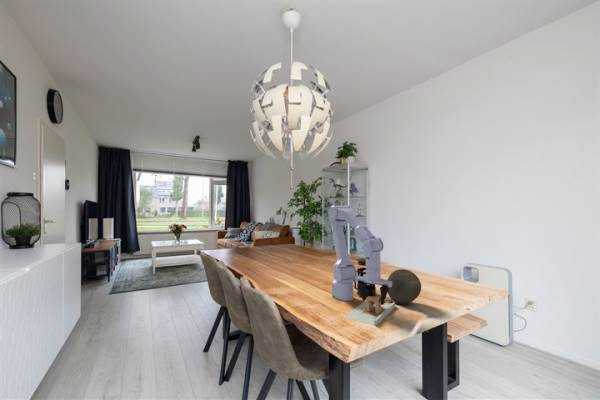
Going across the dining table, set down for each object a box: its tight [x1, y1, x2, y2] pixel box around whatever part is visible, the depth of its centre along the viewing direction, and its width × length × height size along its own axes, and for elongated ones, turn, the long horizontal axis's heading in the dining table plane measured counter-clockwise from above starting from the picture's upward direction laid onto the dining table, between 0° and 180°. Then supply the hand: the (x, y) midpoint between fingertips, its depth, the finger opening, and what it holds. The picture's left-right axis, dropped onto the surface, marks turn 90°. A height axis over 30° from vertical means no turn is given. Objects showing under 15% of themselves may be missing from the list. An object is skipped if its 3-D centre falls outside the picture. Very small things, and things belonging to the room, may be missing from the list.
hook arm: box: [369, 295, 381, 307], centre depth 109 cm, size 2×11×6 cm, turn 144°
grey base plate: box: [343, 300, 396, 327], centre depth 108 cm, size 13×22×3 cm, turn 144°
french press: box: [353, 247, 377, 297], centre depth 133 cm, size 12×9×23 cm
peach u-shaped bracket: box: [365, 296, 382, 315], centre depth 108 cm, size 5×2×5 cm, turn 55°
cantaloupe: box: [387, 268, 422, 305], centre depth 120 cm, size 14×14×15 cm
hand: (373, 302), depth 108 cm, fingers open, 7 cm apart
